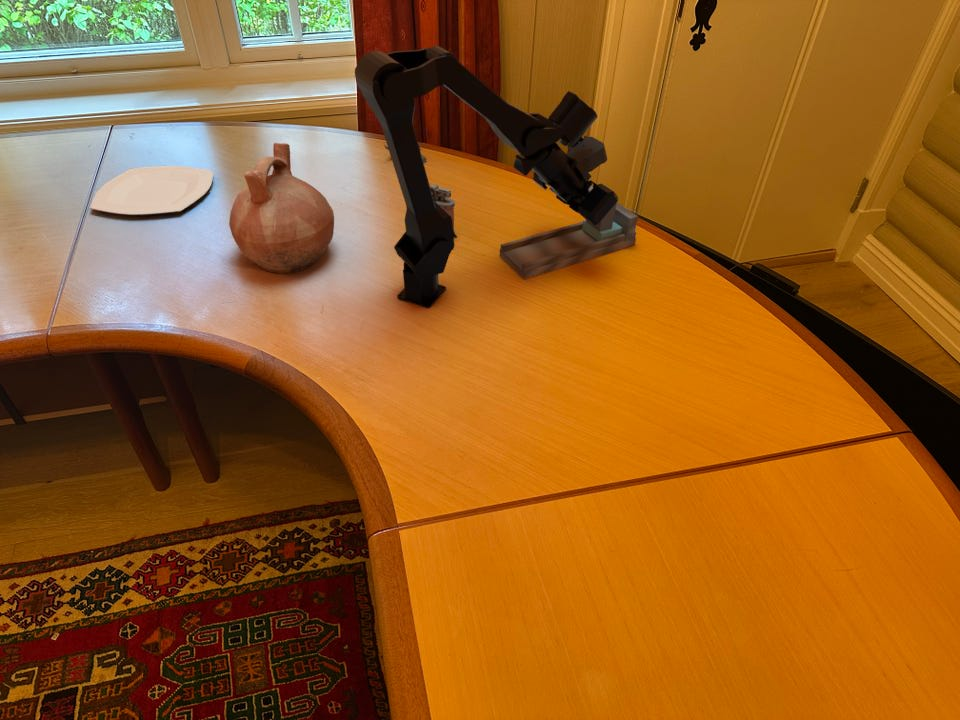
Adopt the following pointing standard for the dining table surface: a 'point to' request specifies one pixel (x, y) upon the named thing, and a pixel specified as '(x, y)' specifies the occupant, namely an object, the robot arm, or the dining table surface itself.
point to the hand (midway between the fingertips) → (594, 210)
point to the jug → (280, 216)
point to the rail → (566, 246)
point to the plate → (153, 190)
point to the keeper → (603, 227)
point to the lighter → (443, 200)
